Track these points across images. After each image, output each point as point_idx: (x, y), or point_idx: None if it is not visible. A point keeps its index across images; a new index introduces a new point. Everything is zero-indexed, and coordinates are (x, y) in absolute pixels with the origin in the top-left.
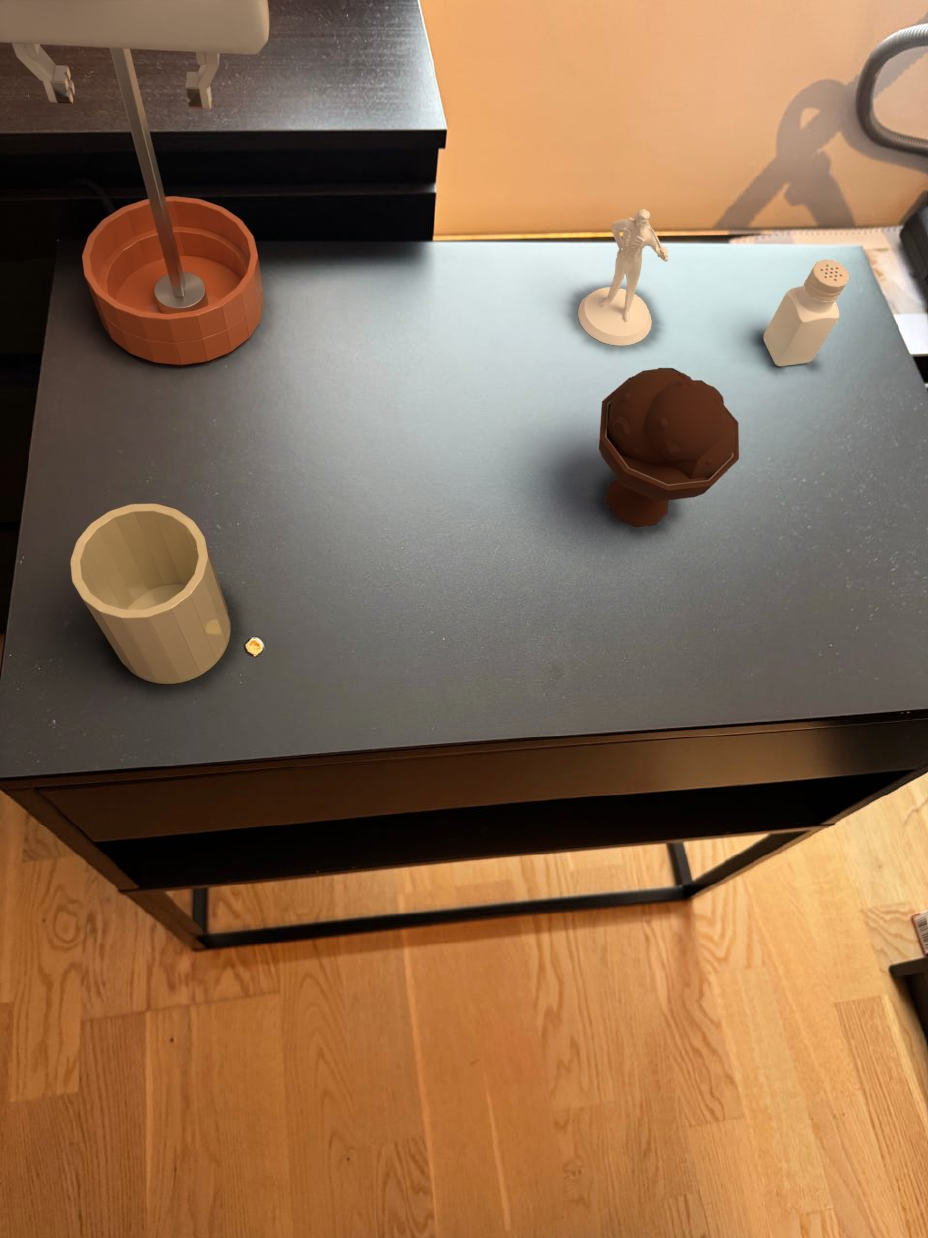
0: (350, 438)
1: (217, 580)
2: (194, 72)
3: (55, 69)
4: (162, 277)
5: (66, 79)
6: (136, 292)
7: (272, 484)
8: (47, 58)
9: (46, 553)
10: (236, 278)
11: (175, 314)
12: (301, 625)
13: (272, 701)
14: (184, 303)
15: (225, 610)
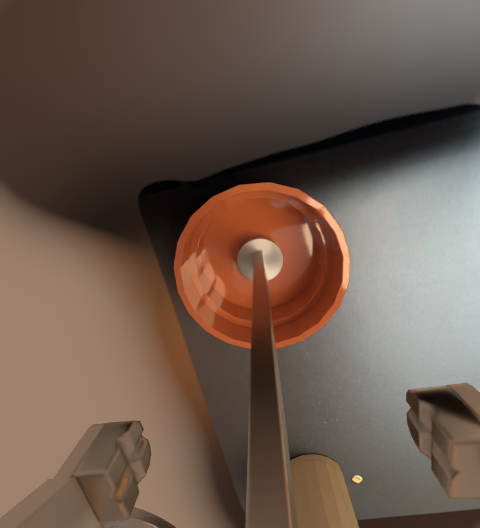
0: (411, 353)
1: (358, 525)
2: (476, 440)
3: (84, 487)
4: (240, 250)
5: (125, 498)
6: (217, 252)
7: (355, 393)
8: (50, 512)
9: (230, 445)
10: (300, 217)
11: (283, 342)
12: (382, 468)
13: (369, 500)
14: (268, 276)
15: (351, 500)
